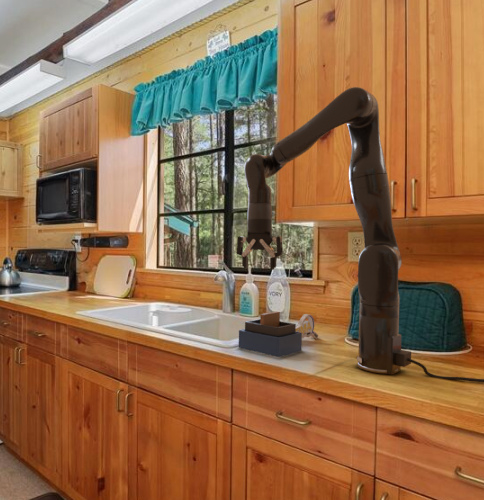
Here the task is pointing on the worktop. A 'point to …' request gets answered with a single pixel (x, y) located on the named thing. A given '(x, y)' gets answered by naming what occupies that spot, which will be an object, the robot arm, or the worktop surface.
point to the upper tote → (270, 325)
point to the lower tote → (270, 343)
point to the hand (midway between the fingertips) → (259, 269)
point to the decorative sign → (306, 326)
